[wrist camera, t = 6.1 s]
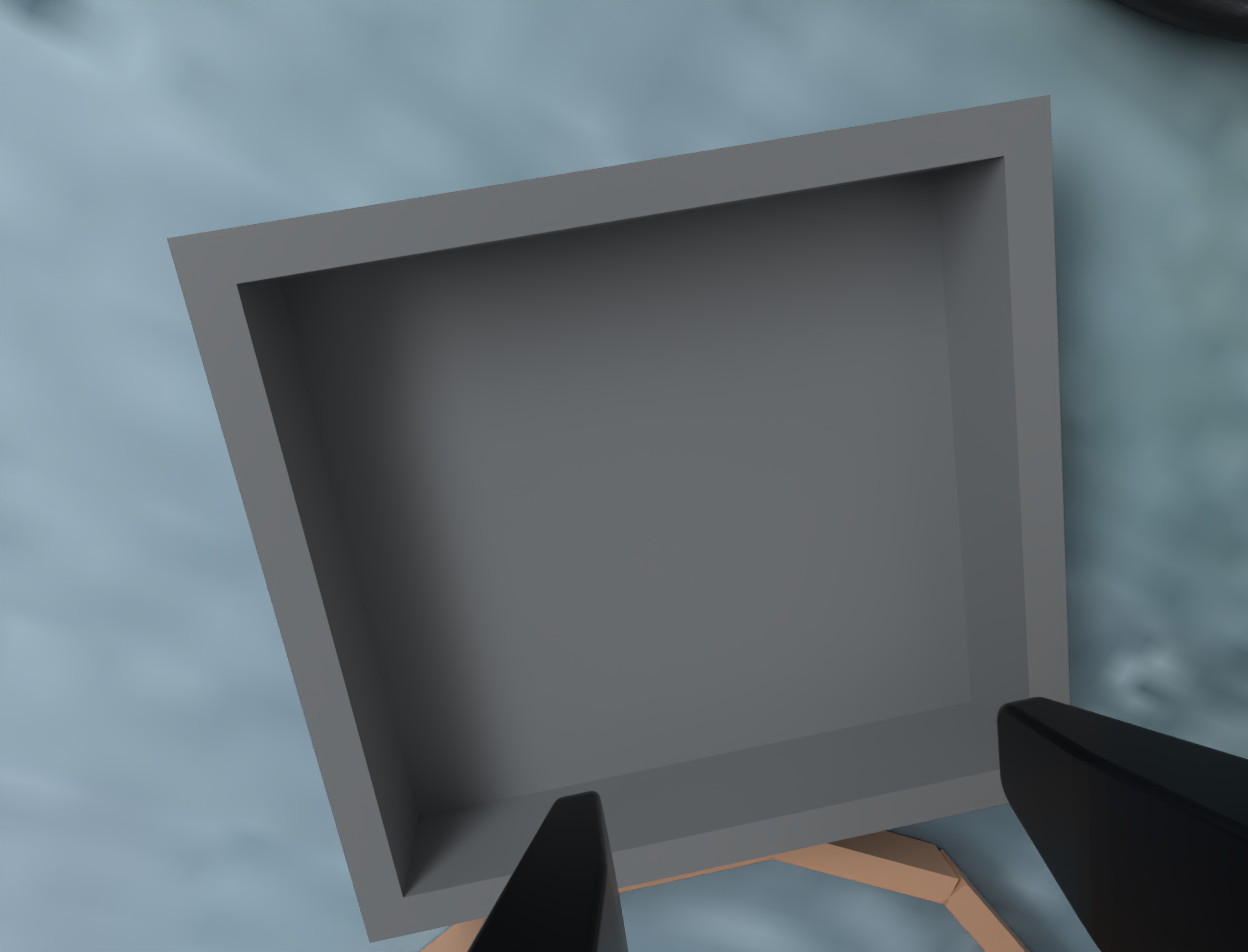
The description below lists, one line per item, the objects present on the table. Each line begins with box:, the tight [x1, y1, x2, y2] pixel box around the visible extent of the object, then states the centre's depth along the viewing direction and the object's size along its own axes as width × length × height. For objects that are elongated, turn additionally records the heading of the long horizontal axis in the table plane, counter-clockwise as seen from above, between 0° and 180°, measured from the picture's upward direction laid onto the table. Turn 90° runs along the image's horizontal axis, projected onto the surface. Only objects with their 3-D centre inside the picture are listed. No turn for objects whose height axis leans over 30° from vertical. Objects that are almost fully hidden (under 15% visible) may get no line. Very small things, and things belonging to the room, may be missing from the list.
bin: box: [167, 95, 1070, 943], centre depth 17 cm, size 13×14×3 cm
